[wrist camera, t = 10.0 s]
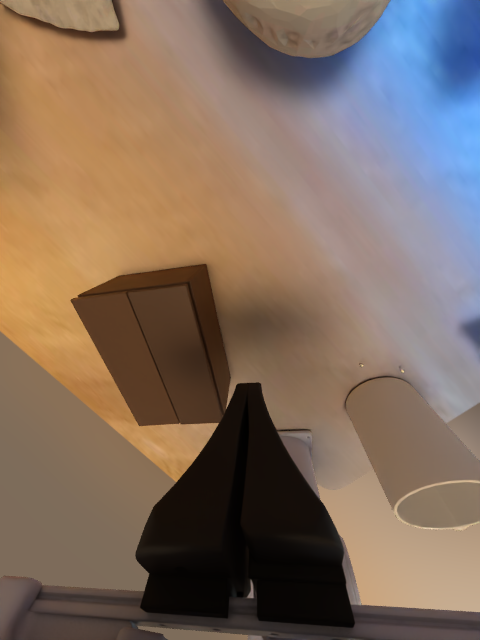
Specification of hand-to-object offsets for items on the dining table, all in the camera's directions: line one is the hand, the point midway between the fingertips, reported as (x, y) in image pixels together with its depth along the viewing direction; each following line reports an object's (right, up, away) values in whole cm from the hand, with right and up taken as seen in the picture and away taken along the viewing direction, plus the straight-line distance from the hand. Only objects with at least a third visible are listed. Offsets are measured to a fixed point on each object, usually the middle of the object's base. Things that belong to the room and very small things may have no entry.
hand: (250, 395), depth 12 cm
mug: (+18, -7, +14) cm, 24 cm away
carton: (-7, +3, +11) cm, 13 cm away
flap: (-10, 0, +6) cm, 11 cm away
